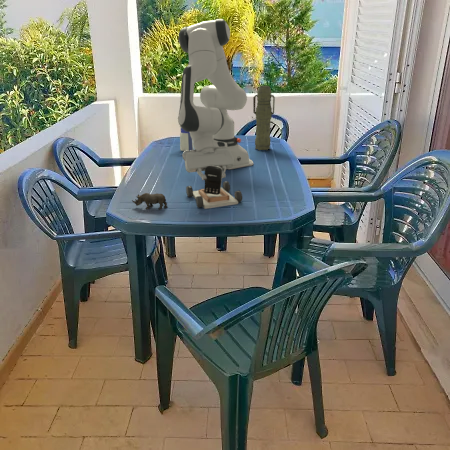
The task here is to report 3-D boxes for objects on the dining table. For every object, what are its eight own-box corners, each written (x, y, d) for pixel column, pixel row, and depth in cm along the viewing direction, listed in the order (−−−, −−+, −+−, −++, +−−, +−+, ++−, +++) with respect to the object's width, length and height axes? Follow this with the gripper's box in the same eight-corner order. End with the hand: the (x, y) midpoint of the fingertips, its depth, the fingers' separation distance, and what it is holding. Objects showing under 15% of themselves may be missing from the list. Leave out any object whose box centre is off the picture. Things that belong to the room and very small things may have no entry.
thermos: (252, 146, 260) (254, 85, 246) (272, 147, 259) (275, 85, 244) (251, 150, 252) (253, 86, 238) (272, 150, 251) (275, 87, 236)
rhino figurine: (134, 205, 174) (132, 190, 172) (168, 206, 173) (167, 191, 170) (131, 209, 170) (129, 194, 168) (165, 210, 169) (165, 195, 167)
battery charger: (202, 193, 178) (204, 167, 172) (204, 190, 181) (206, 164, 175) (219, 196, 177) (221, 170, 171) (221, 192, 180) (223, 166, 174)
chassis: (225, 189, 190) (225, 179, 189) (242, 203, 175) (242, 192, 173) (186, 194, 184) (185, 184, 183) (199, 209, 169) (199, 198, 167)
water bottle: (187, 146, 260) (185, 103, 250) (196, 149, 255) (195, 105, 245) (176, 149, 255) (174, 105, 245) (186, 151, 250) (184, 107, 239)
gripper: (182, 147, 173) (191, 177, 169) (230, 142, 180) (239, 171, 176) (179, 155, 179) (187, 185, 174) (226, 150, 186) (235, 179, 181)
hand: (214, 178), depth 175 cm, fingers closed on battery charger, 7 cm apart
